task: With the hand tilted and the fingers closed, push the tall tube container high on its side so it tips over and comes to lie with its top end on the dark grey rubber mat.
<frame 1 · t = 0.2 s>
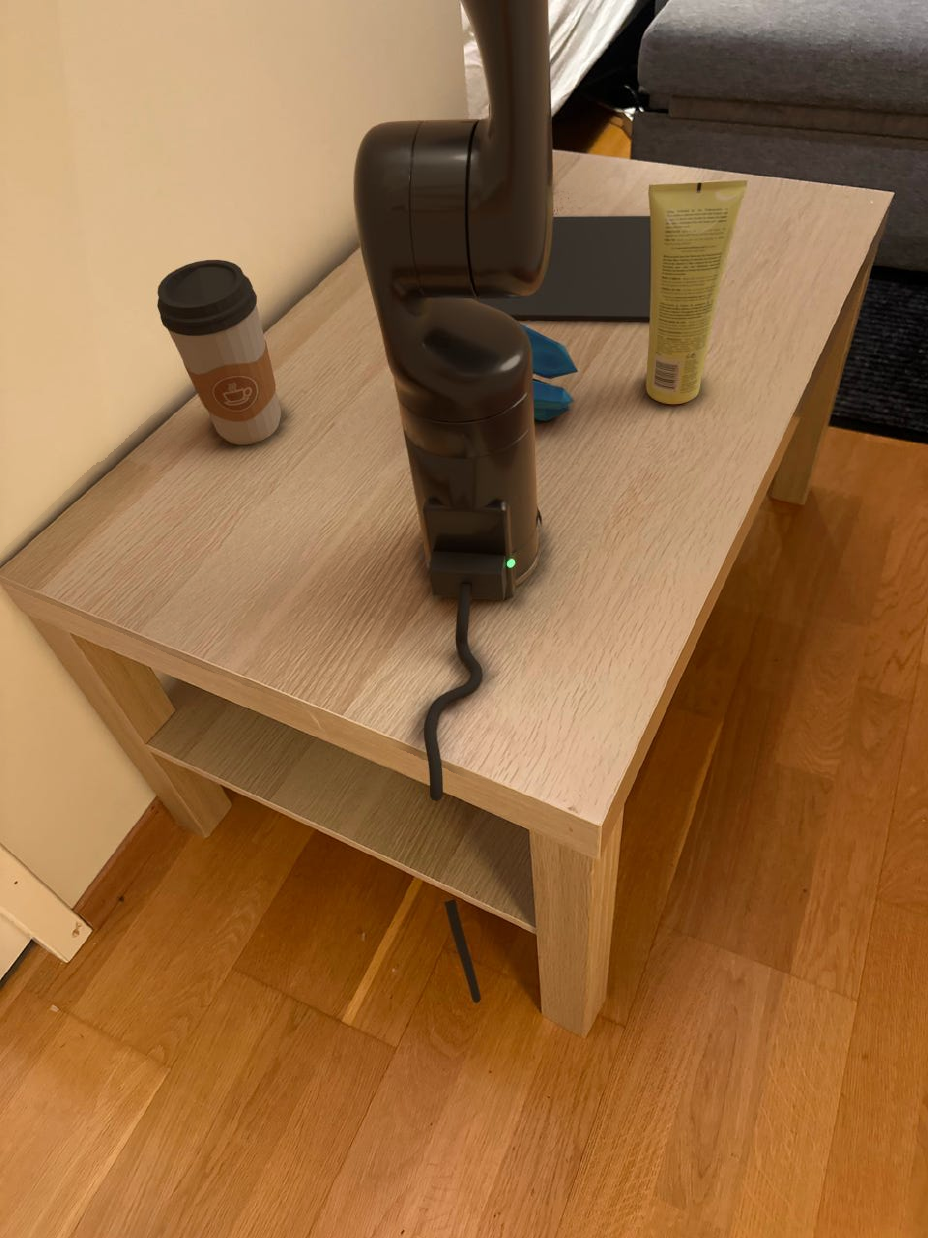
soda can: (521, 193, 110), on the table
crystal: (522, 407, 85), on the table
coffee cup: (250, 426, 87), on the table
mat: (557, 267, 99), on the table
tube: (674, 391, 84), on the table
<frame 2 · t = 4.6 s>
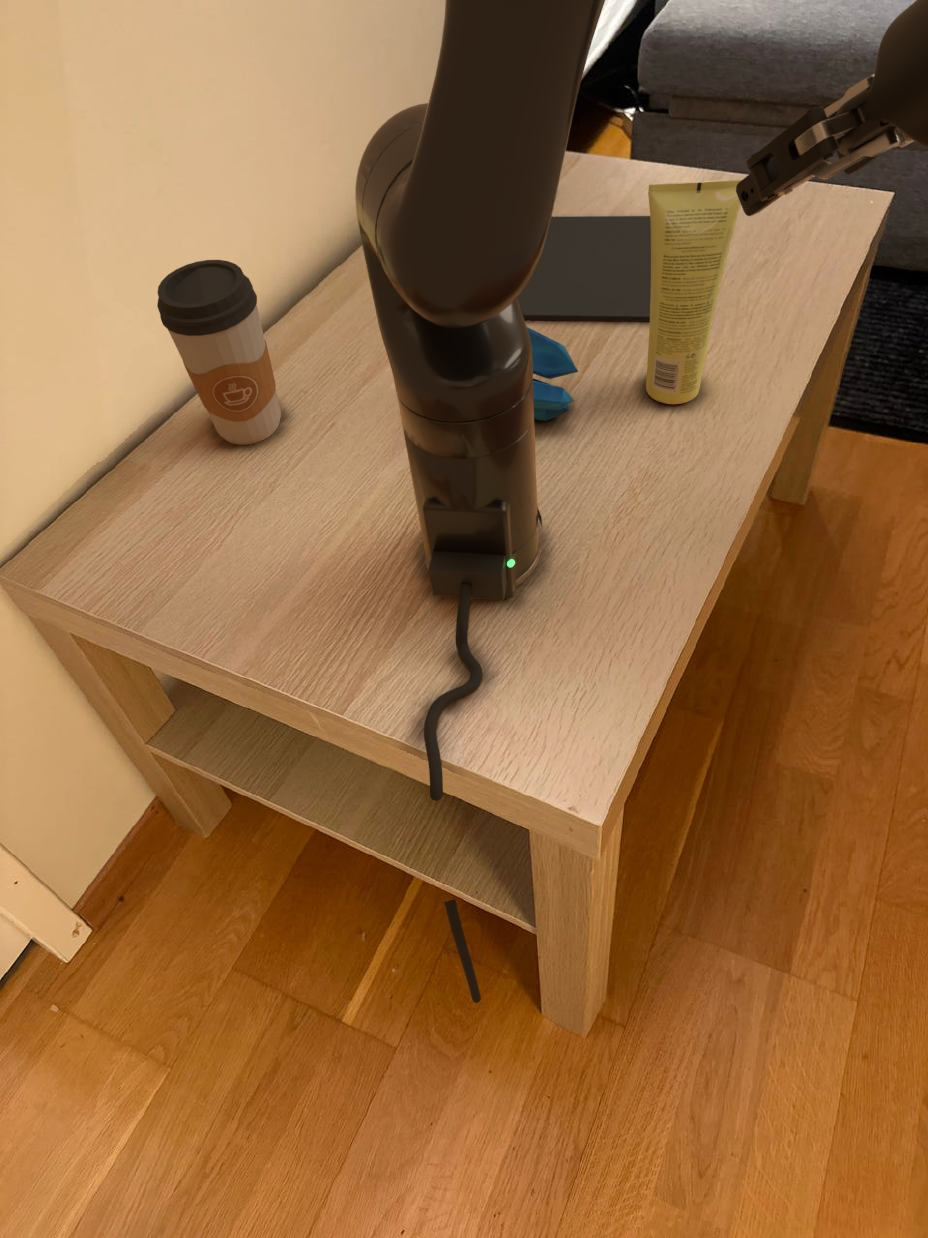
hand: (794, 179, 60), 24 cm above the table, tool tilted 45°, fingers open, 8 cm apart
nothing on the table moved.
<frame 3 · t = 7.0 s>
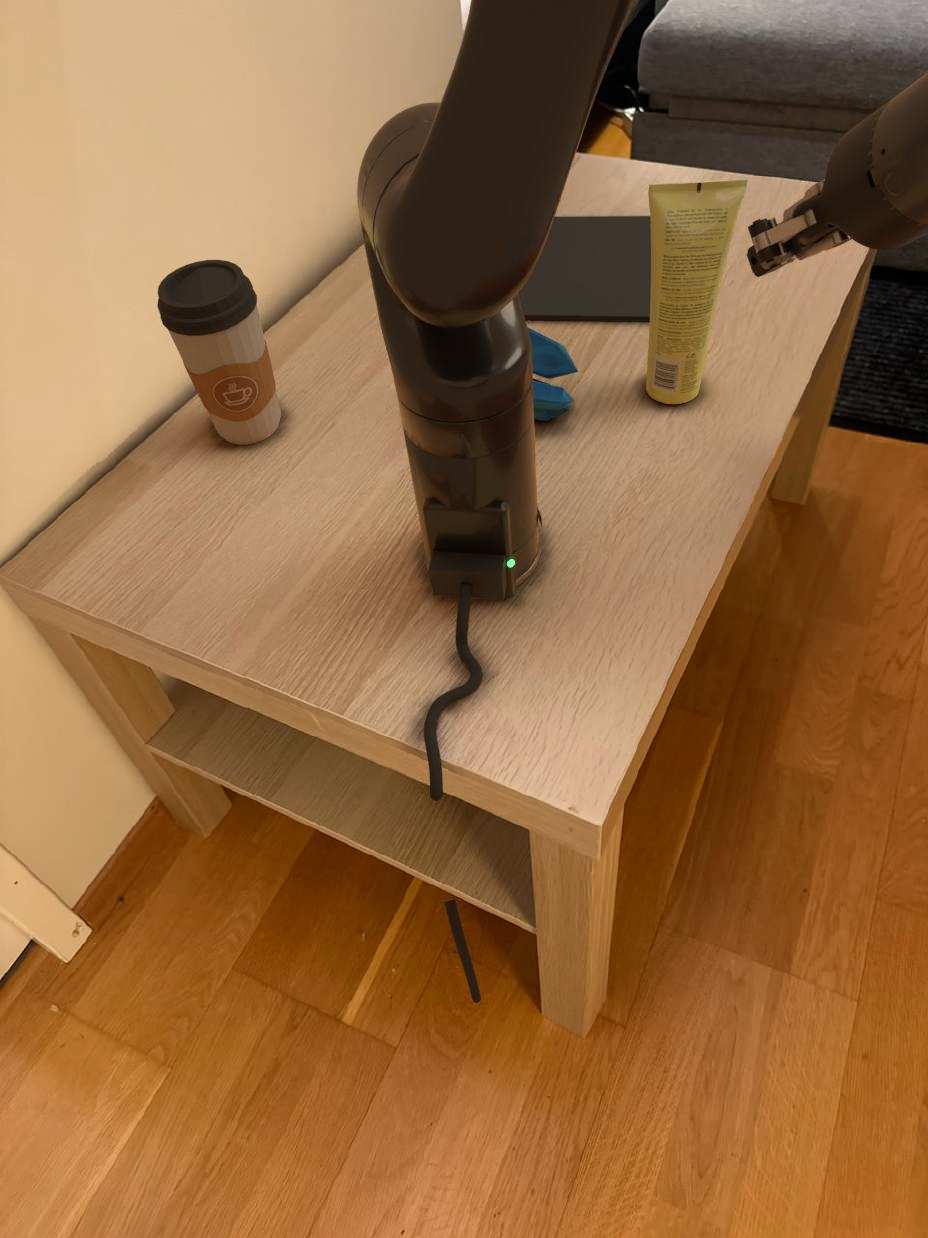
hand: (758, 261, 66), 17 cm above the table, tool tilted 45°, fingers closed
nothing on the table moved.
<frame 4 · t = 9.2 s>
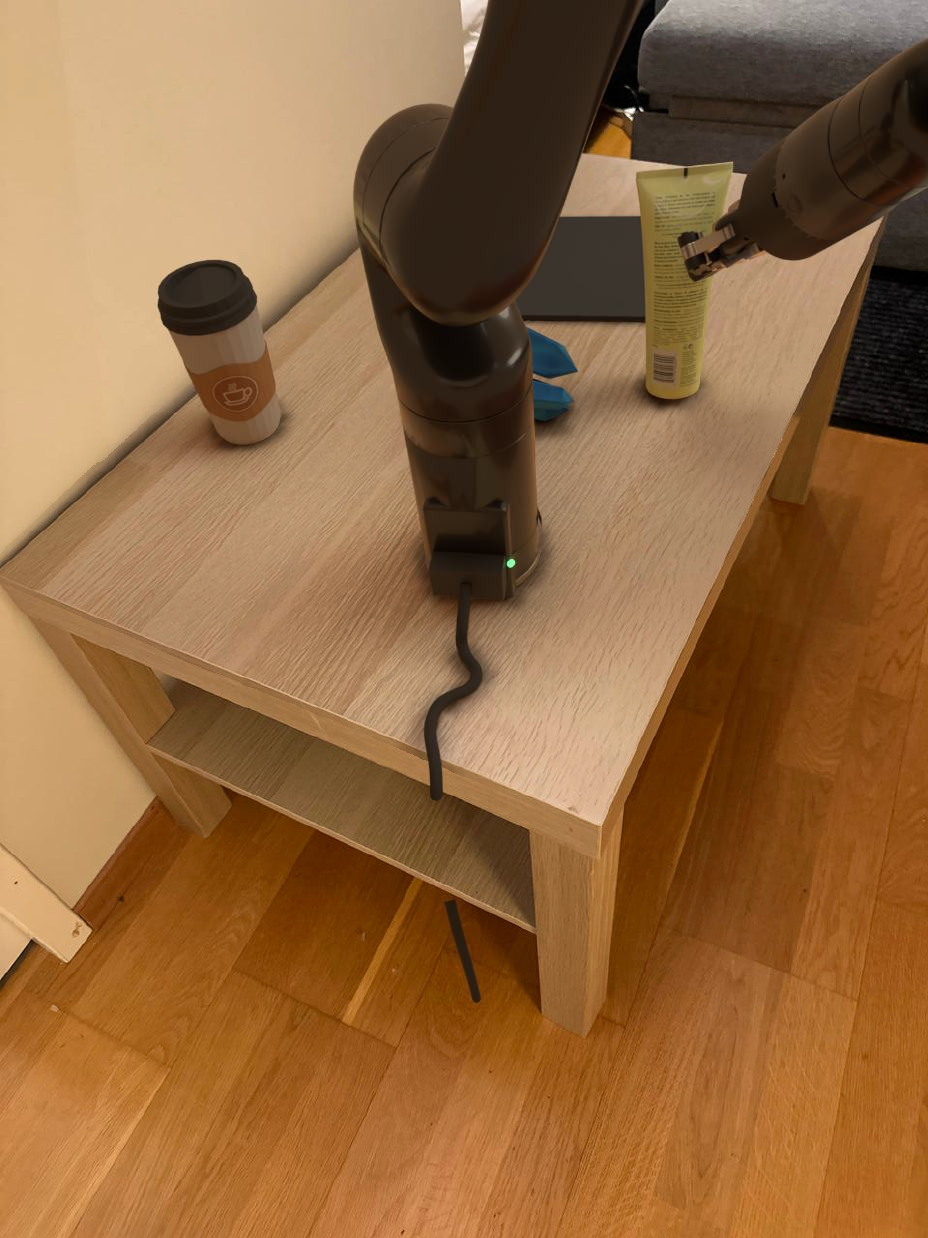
hand: (695, 267, 74), 13 cm above the table, tool tilted 45°, fingers closed
tube: (674, 389, 84), on the table, touching gripper
everything else where it was.
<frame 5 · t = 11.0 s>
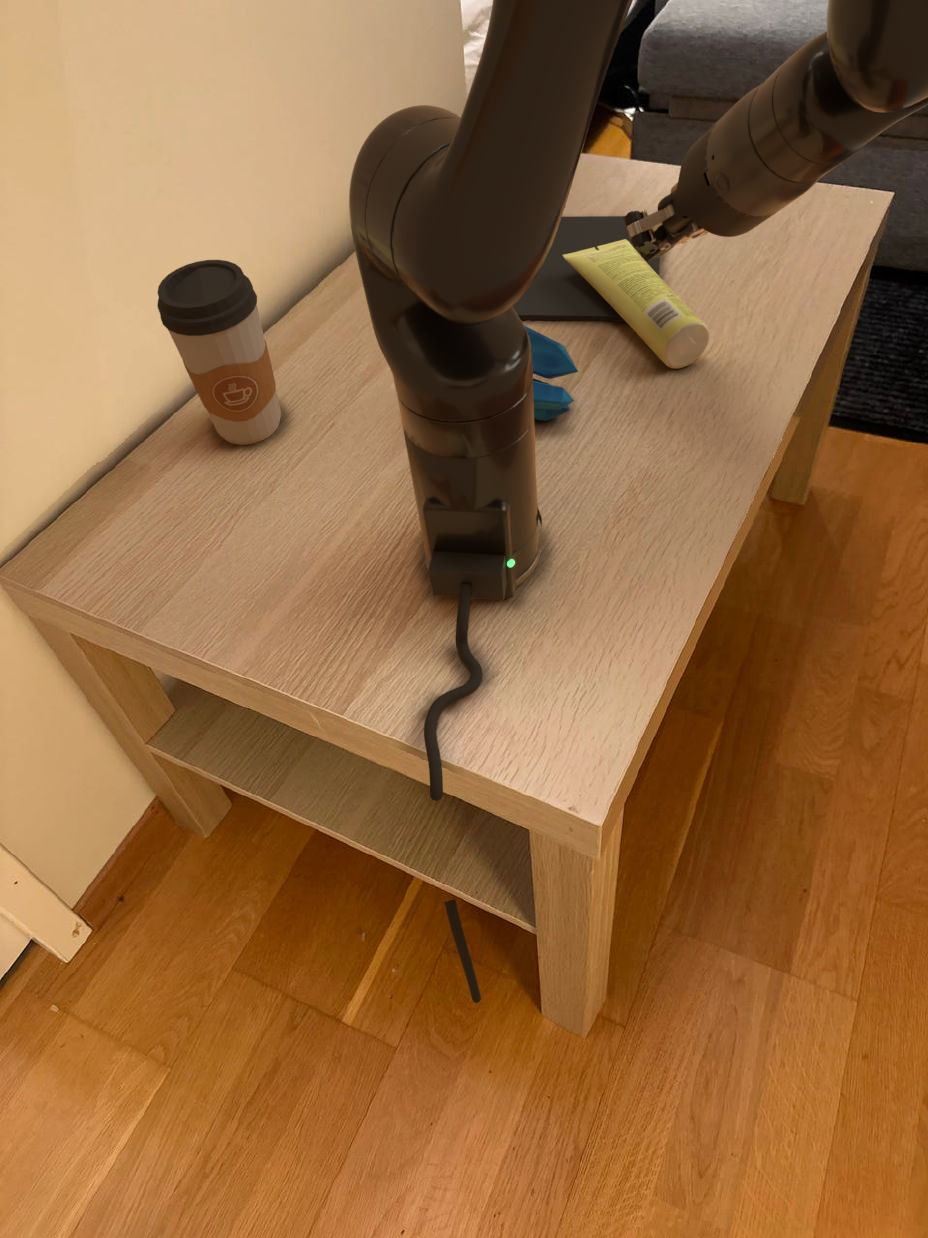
hand: (647, 248, 79), 11 cm above the table, tool tilted 45°, fingers closed
tube: (690, 347, 84), point 2 cm above the table, touching mat
everything else where it was.
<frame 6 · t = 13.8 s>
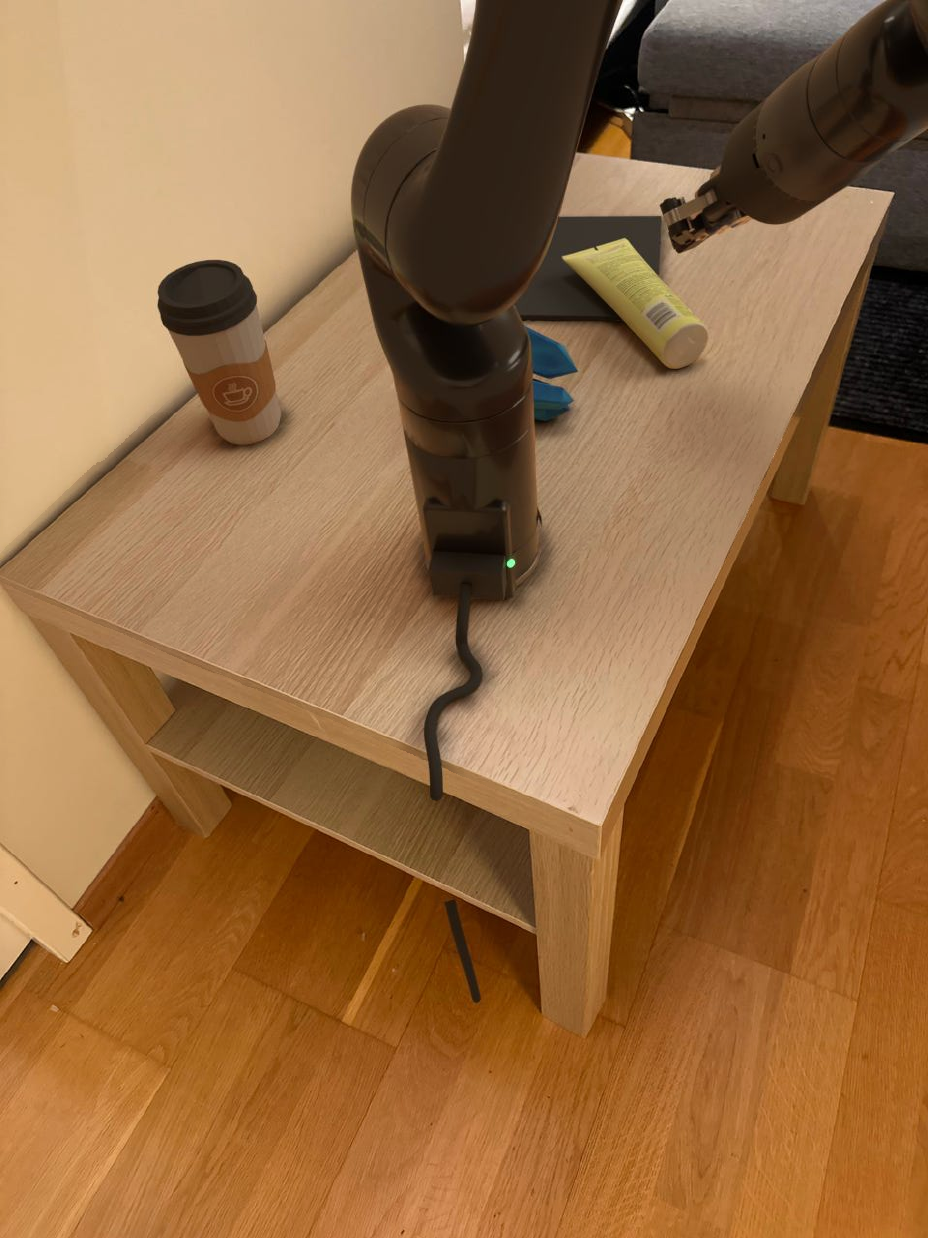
hand: (679, 239, 74), 14 cm above the table, tool tilted 45°, fingers closed
nothing on the table moved.
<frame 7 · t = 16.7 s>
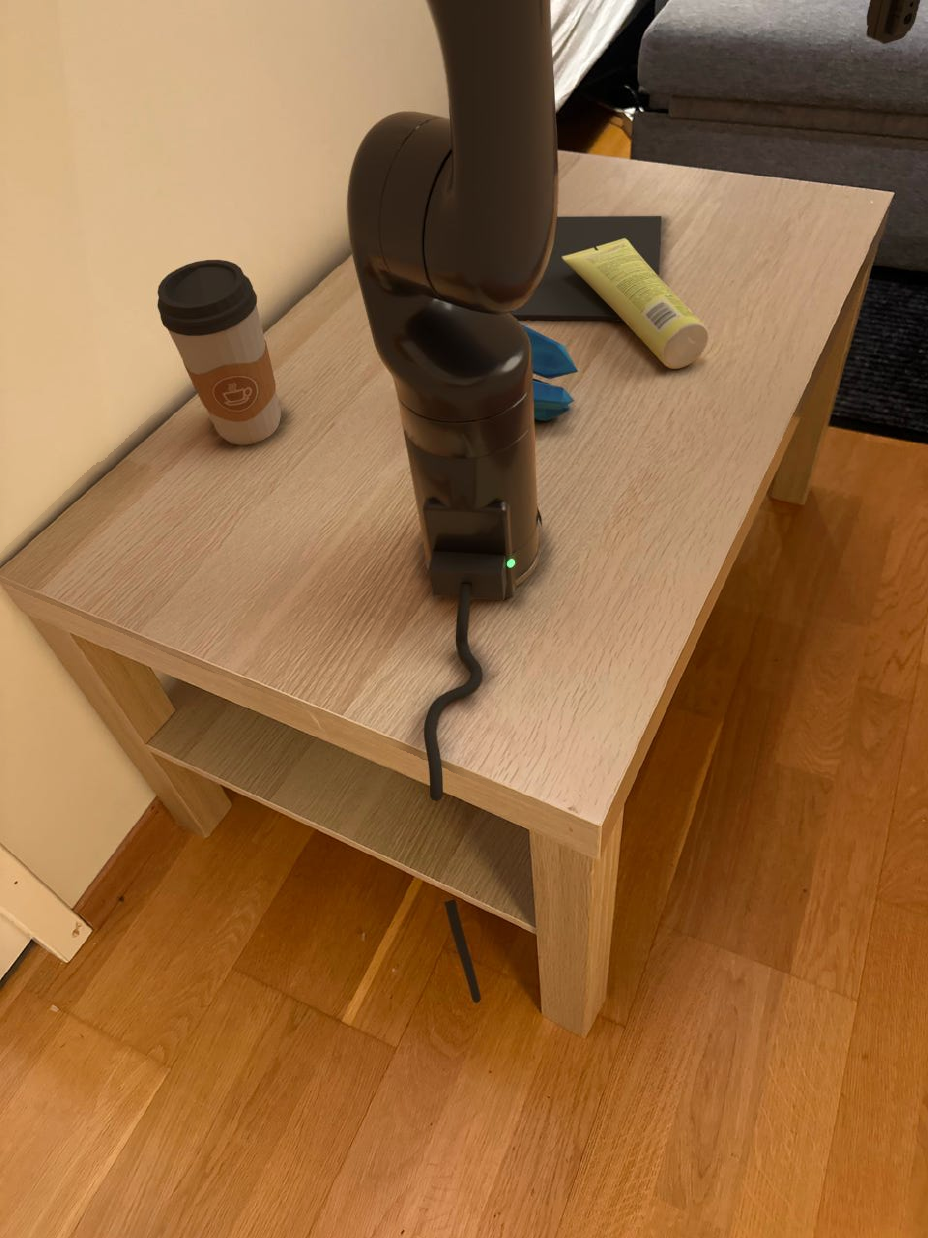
hand: (886, 37, 59), 29 cm above the table, tool pointing down, fingers closed
nothing on the table moved.
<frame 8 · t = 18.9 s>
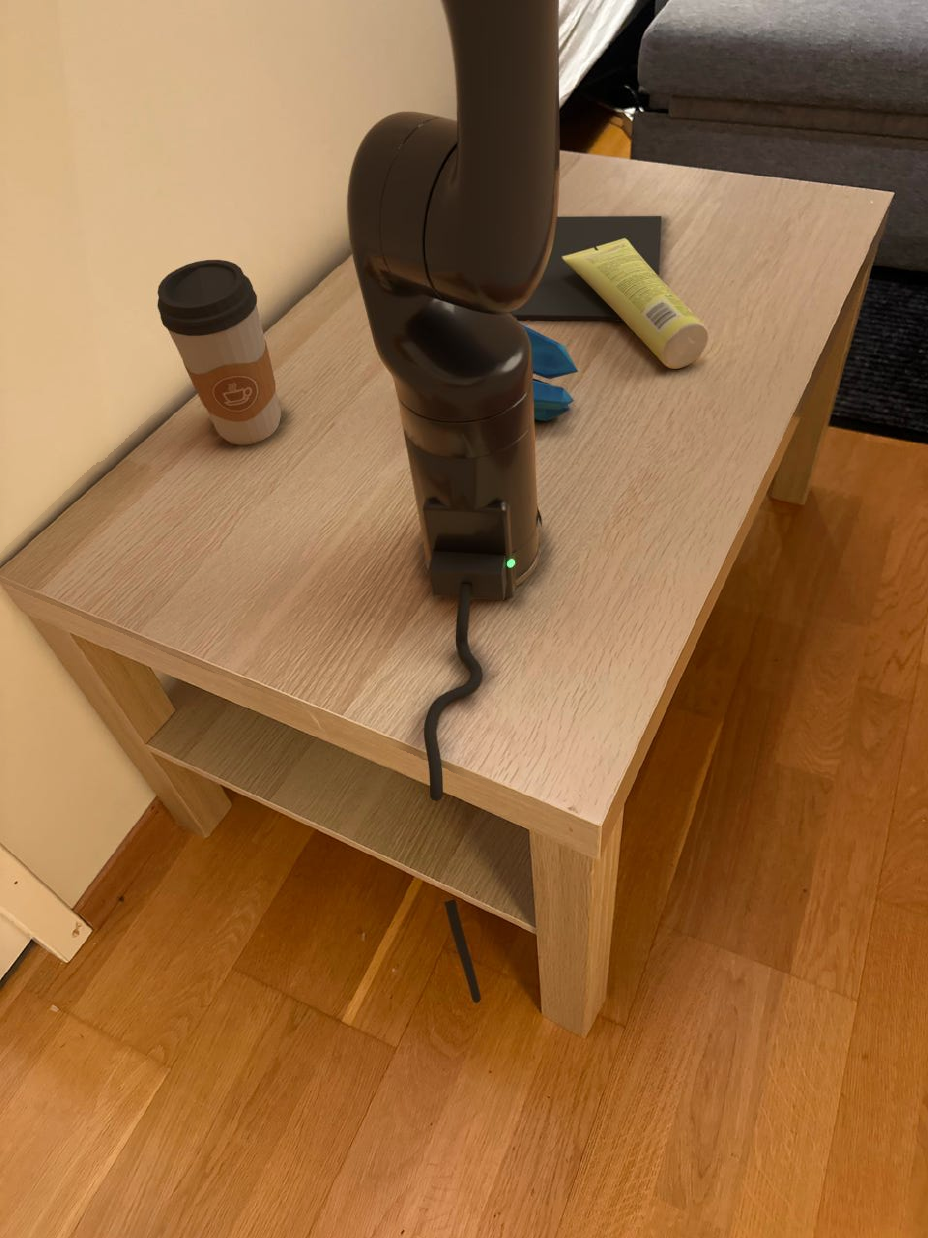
nothing on the table moved.
at the end: tube tilted 88°; tube touching mat, table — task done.
